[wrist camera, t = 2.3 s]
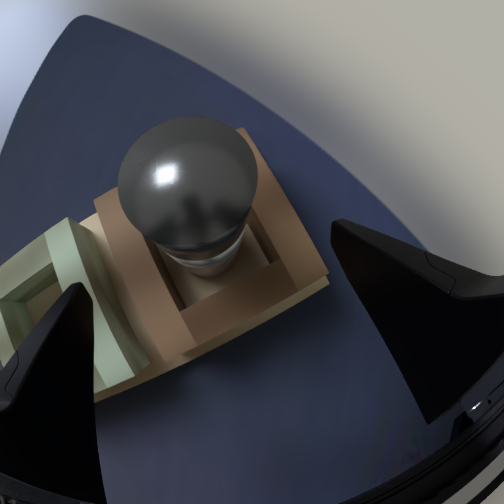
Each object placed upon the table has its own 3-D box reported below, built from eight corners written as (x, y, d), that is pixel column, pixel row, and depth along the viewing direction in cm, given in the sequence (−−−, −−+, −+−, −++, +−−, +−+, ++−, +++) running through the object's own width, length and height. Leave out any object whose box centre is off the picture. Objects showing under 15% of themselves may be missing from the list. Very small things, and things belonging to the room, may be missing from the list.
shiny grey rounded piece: (249, 259, 18) (284, 203, 8) (194, 288, 18) (149, 272, 7) (221, 206, 19) (219, 99, 8) (167, 233, 18) (102, 153, 7)
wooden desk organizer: (324, 284, 20) (351, 280, 15) (57, 415, 16) (29, 433, 11) (244, 145, 21) (249, 110, 16) (3, 284, 17) (-31, 279, 13)
